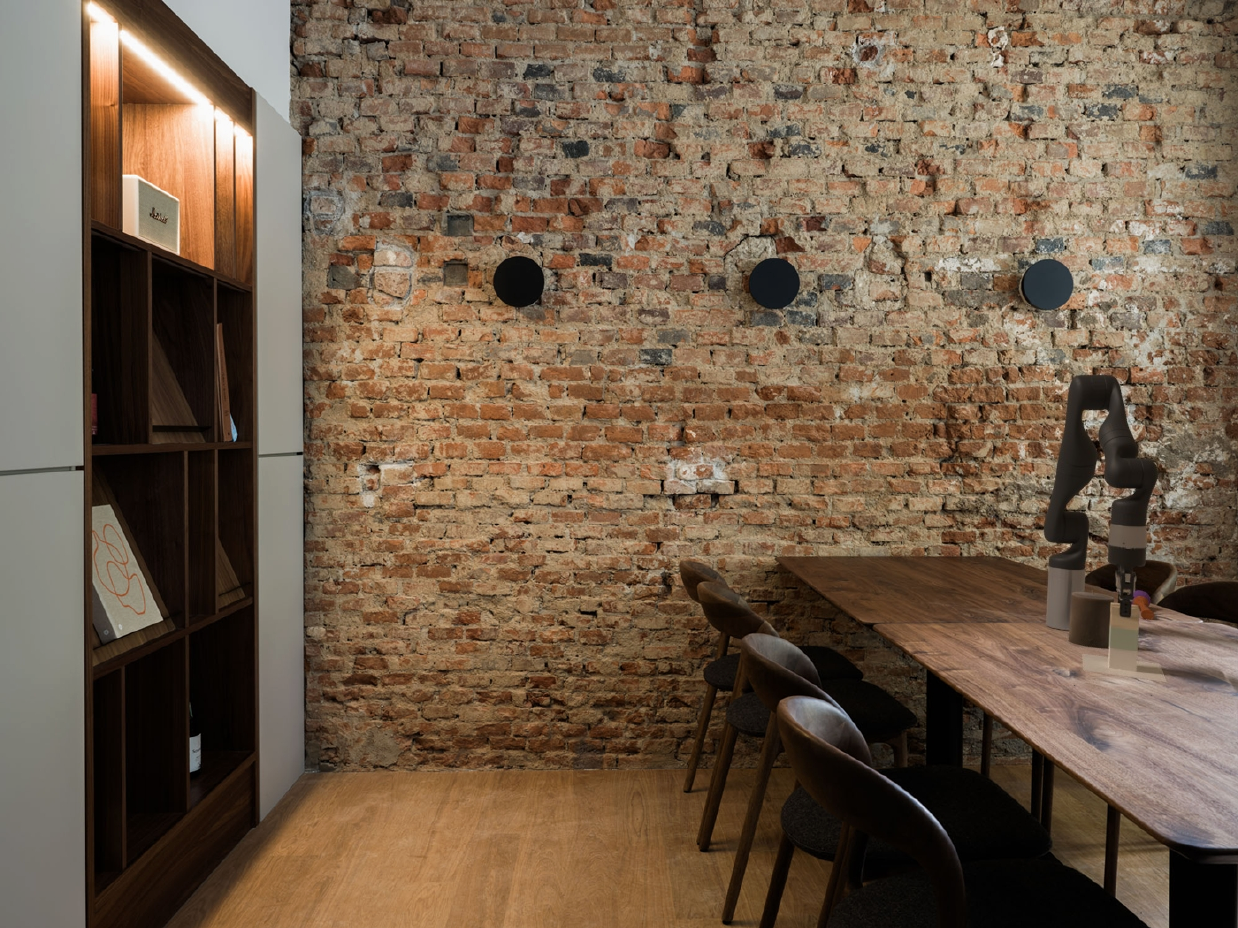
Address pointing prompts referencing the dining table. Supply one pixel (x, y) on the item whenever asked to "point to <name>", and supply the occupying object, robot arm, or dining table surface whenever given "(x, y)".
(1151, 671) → the baseplate
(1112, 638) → the sage block
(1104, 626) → the pillar candle
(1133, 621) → the maple block
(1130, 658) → the beige block
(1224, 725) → the dining table surface
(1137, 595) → the kendama
